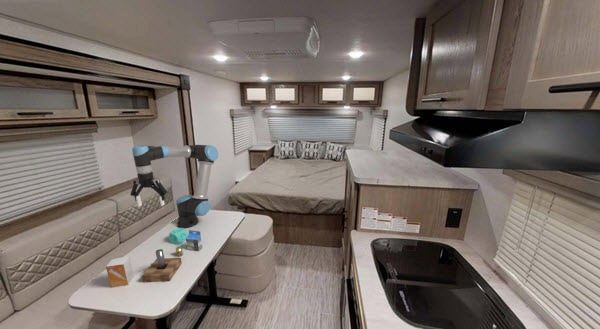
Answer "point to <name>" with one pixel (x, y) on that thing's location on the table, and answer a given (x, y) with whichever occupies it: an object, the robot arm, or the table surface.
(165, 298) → the table surface
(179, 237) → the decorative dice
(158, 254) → the long pin
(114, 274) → the small box
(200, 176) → the robot arm
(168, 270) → the hole block
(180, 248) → the short pin
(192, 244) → the label tape cartridge
